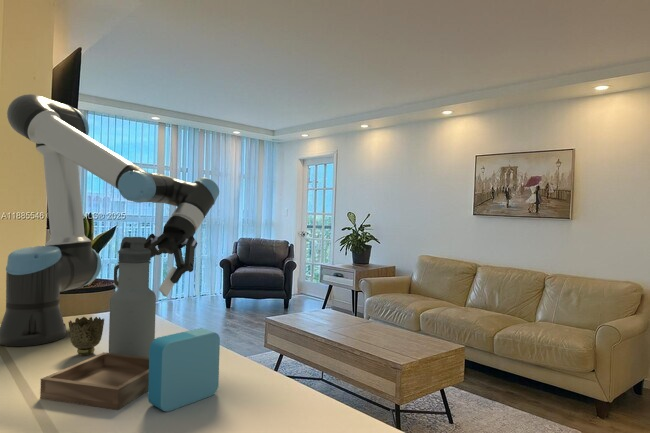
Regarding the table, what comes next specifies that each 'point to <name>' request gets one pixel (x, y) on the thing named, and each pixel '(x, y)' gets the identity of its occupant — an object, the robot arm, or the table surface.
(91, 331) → the cup
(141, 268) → the water bottle
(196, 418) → the table surface
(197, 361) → the data package
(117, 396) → the walnut tray
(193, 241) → the robot arm
